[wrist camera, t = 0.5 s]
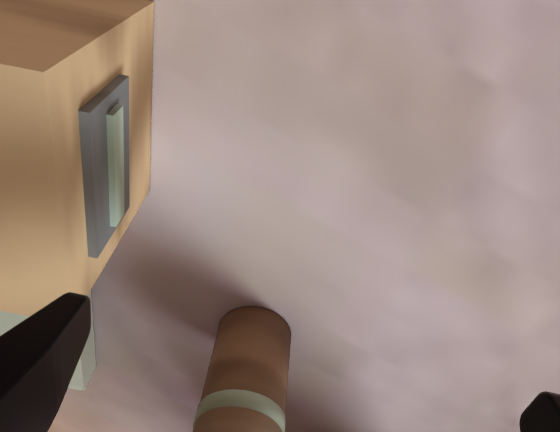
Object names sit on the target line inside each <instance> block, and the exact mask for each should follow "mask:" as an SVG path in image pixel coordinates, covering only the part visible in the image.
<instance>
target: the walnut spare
mask: <svg viewBox="0 0 560 432" xmlns="http://www.w3.org/2000/svg"><path fill="white" fill-rule="evenodd" d="M290 344H291V330H290V327H289V325H288V323H287V322H286V321H285V320H284V319H283V318H282V317H281V316H280V315H279V314H277V313H275V312H273V311H271V310H269V309H266V308H261V307H254V306H248V307H240V308H237V309H234V310H232V311H230V312H228V313H227V314H226V315H225V316H224V317H223V318H222V319H221V321H220V324H219V328H218V332H217V336H216V340H215V344H214V348H213V352H212V356H211V361H210V365H209V369H208V373H207V377H206V381H205V385H204V389H203V393H202V397H201V401H200V403H199V405H198V409H197V413H196V417H195V421H194V425H193V429H194V430H193V432H285V408H286V395H287V382H288V369H289V357H290Z"/></svg>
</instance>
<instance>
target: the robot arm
mask: <svg viewBox="0 0 560 432" xmlns="http://www.w3.org/2000/svg"><path fill="white" fill-rule="evenodd" d="M90 329H91V302H90V298H89V297H88V296H86V295H82V294H77V293H73V292H68V293H65V294H63V295H62V296H60V297H58V298H57V299H55V300H54V301H52V302H51V303H49V304H48V305H46V306H45V307H43V308H42V309H40V310H39V311H37V312H36V313H34V314H33V315H31V316H30V317H28V318H27V319H25V320H24V321H22V322H20V323H19V324H17V325H16V326H14V327H13V328H11V329H10V330H8V331H7V332H5V333H4V334H2V335H1V336H0V432H47V431H48V430H49V428H50V426H51V424H52V422H53V420H54V418H55V416H56V414H57V412H58V410H59V408H60V405H61V403H62V401H63V398H64V396H65V393H66V391H67V388H68V386H69V384H70V381H71V379H72V376H73V374H74V371H75V369H76V366H77V364H78V361H79V359H80V356H81V354H82V352H83V349H84V347H85V344H86V342H87V339H88V337H89V334H90ZM520 432H560V394H556V393H551V392H541V393H540V394H538V395H537V397H536V398H535V399H534V400H533V401H532V402H531V404H530V405H529V406H528V407H527V408H526V409H525V410H524V412H523V413H522V415H521V418H520Z"/></svg>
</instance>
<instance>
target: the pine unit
mask: <svg viewBox="0 0 560 432" xmlns="http://www.w3.org/2000/svg"><path fill="white" fill-rule="evenodd" d="M153 32H154V1H149V0H0V311H3V312H9V313H14V314H20V315H25V316H31V315H33V314H34V313H36V312H37V311H39V310H40V309H42V308H43V307H45V306H46V305H48V304H49V303H51V302H52V301H54V300H55V299H57V298H58V297H60V296H62V295H63V294H65V293H68V292H73V293H77V294H82V295H86V296H88V294H89V292H90V291H91V289H92V287H93V285H94V284H95V282H96V280H97V279H98V277H99V275H100V274H101V272H102V270H103V268H104V267H105V265H106V263H107V262H108V260H109V258H110V257H111V255H112V253H113V252H114V250H115V248H116V246H117V245H118V243H119V241H120V240H121V238H122V236H123V235H124V233H125V231H126V230H127V228H128V226H129V224H130V223H131V221H132V219H133V218H134V216H135V214H136V213H137V211H138V209H139V207H140V206H141V204H142V202H143V201H144V199H145V197H146V196H147V194H148V192H149V191H150V153H151V113H152V72H153Z"/></svg>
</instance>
